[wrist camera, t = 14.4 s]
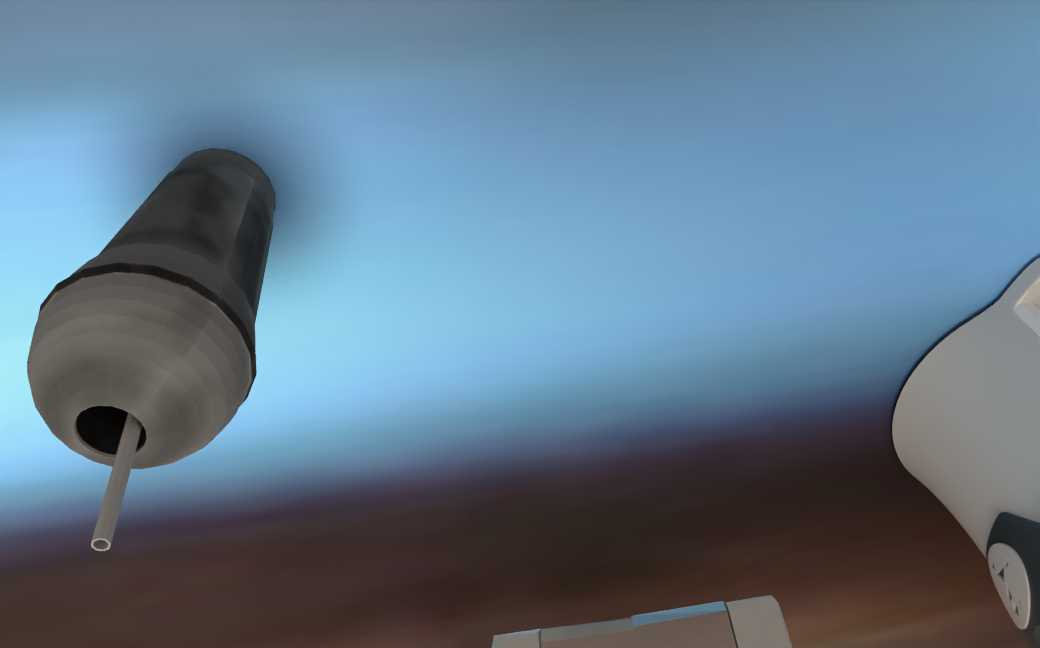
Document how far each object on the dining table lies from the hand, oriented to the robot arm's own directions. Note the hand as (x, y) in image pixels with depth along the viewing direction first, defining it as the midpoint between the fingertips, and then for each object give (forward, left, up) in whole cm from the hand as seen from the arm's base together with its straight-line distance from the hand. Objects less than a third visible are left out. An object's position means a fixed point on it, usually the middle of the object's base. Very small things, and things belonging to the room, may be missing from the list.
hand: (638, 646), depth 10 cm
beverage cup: (+15, +8, -31) cm, 36 cm away
